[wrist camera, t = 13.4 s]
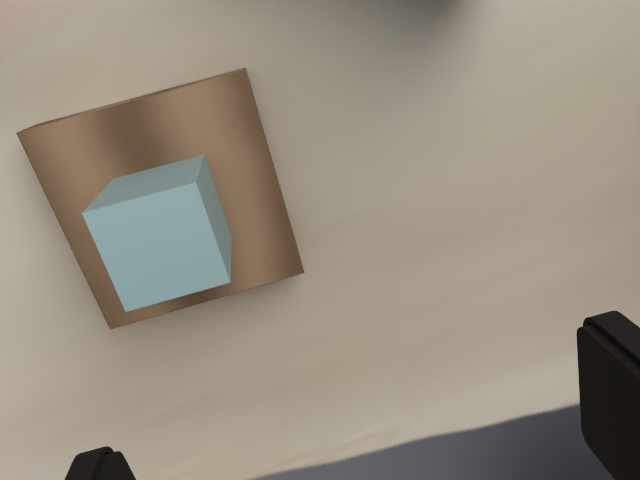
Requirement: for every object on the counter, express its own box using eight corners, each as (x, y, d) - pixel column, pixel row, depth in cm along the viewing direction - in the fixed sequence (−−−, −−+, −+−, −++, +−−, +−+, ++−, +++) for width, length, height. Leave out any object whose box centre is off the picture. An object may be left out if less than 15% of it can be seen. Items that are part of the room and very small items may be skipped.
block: (204, 154, 28) (196, 182, 22) (231, 237, 30) (230, 282, 24) (113, 178, 27) (81, 213, 22) (146, 261, 29) (125, 312, 24)
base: (245, 67, 29) (246, 70, 26) (298, 253, 34) (304, 272, 31) (37, 124, 29) (16, 132, 26) (120, 305, 33) (110, 329, 30)
